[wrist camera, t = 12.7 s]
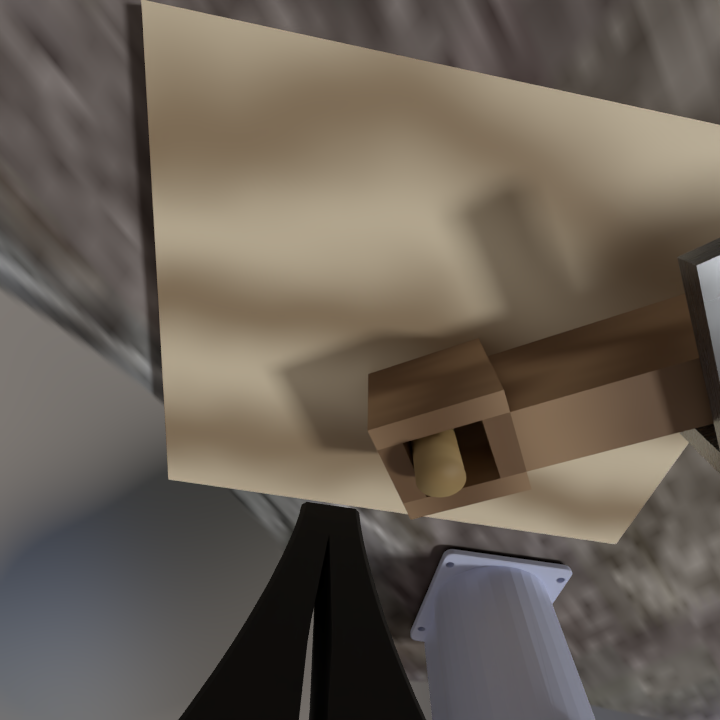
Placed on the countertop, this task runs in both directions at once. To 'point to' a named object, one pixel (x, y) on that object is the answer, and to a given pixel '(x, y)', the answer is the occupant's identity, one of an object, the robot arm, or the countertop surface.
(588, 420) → the link
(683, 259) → the block
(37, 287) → the countertop surface
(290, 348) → the board
